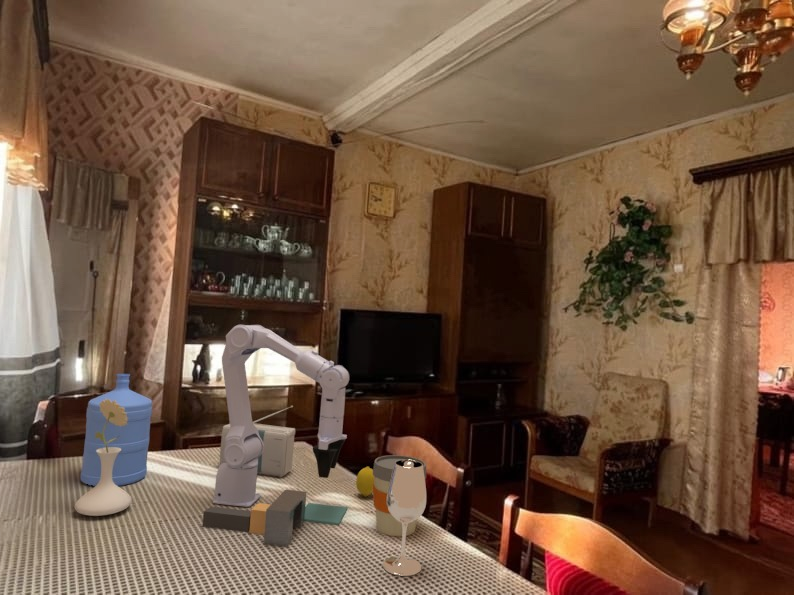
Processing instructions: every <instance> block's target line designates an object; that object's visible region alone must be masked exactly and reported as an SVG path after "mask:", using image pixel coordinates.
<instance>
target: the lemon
mask: <svg viewBox="0 0 794 595" xmlns="http://www.w3.org/2000/svg"><path fill="white" fill-rule="evenodd" d="M355 483H356V484H355V485H356V489H357V491H358V492H359V493H360V494H361V495H363V497H365V498H366V497H368V496H369V495H371V494H373V484H374V475H373V468H370V466H366V467H363V468H362V469H361V470H360V471H359V472H358V473H357V476H356V482H355Z"/></svg>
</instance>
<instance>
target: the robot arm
mask: <svg viewBox="0 0 794 595" xmlns="http://www.w3.org/2000/svg"><path fill="white" fill-rule="evenodd" d="M225 341H226V343H225V346H224V349H223V352H222V356H221V365H222V373H223V381H224V387H225V397H226V403H227V411H228V412H227V413H228V420H229V424H230V430H229V432H228V434H227V436H226V438H225V441H226V446H225V450H224V459H225V461H226V463H222V464H221V465H220V464H219V467H218V469H217V472H216V476H215V485H214V486H215V487H214V500H212V504H217V505H226V506H237V507H245V508H250V507H251V506H252V505H253V504H255V503H256V502H257V501H258V500H259V498H261V497H262V495H261V494H260V493H256V492H257V491H256V490H257V479H258V473H257V469H258V457H259V456H260V455H261V454H262V452H263V449H264V444H263V441H262V439H261V438H260V436H259V433H258V429H257V428H256V427H255V426H254V425H253V423H252V422H253V418H252V411H251V410H252V408H251V401H250V394H249V386H248V379H247V372H246V365H245V364H246V362H247V361H248V360H249V359H250V357H251V356H252V355H253V354H254V353H256V352H257V351H259V350H261V349H269V350H271V351H272V352H274V353H276V354H278V355H280V356H282V357H284V358H286V359H288V360H289V361H291V362H293V363H294V364H295V365H294V366H295V368H296V370H297V371H298V372H300V373H302V374H303V375H305V376H307V377H308V378H310V379H311V380H313V381H315V382H316V383H319V386H320V387H321V390H322V391H321V398H320V399H321V400H320V411H319V421H318V422H319V425H318V433H317V439H318V445H316V444H315V445H314V446H313V447H312V452H313V455H314V457H315V460H316V465H317V466H316V467H317V472H318V473H317V474H318V477H319V478H324V479H328V478H329V476H330V473H331V469H336V466H337V463H338V459H339V455H340V451H341V449H342V447H343V445H344V443H345V441H346V439H347V438H348V437H347V436H348V435H347V434H343V425H344V416H345V402H346V386H347V385H348V384H349V381H350V373H349V371H348V370H347V369H346V368H345V367H344V366H343V365H342V364H341V365H340V364H337V365H334V364H335V362H334V361H332V360H328V359H326V358H324V357H322V356H321V355H319V351H317V350H316V349H314V350H310V349H307V350H303V351H302V350H301V349H300V348H298V347H297V346H295V345H293V344H292V343H290V342H289V341H287V340H286V339H284V338H282V337H281V336H280V335H278V334H276V333H275V332H273V331H272V330H271V329H268V328H265V327H264V326H262V325H261V324H250V325H249V324H247V325H245V324H237V325H235V326H233V327H232V328H231V329H230V331H228V333H226V335H225Z"/></svg>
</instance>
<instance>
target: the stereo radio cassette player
mask: <svg viewBox="0 0 794 595" xmlns="http://www.w3.org/2000/svg"><path fill="white" fill-rule="evenodd" d="M293 407H294V406H293V405H290V407H287V408H284V409H281V410H278V411H276V412H274V413H271V414H269V415H266V416H264V417H261V418H258V419H257V420H254V421H252V423H253V425H254V426H255V427H256V428H257V429H258V433H259V436H260V438H261V439H262V441H263V444H264V449H263V452H262V454H261V455H260V456H259V457H258V469H257V474H260V475H261V474H262V475H267V476H274V477H279V478H282V477H284V476H285V475H286V474H288V473H289V472H290V471H291V470H292V468H293V459H294V457H293V456H294V449H295V448H294V446H295V435H296V428H295V427H286V426H279V425H270V424H262V423H257V422H261V421H262V420H265V419H267V418H270V417H272V416H274V415H277V414H280V413H281V412H284V411H285V410H288V409H289V408H293ZM229 430H230V423H228V424H225V425H223V426H222V431H221V439H220V440H221V441H220V452H219V453H220V454H219V466H220V465H221V464H222V463H226V461H225V459H224V450H225V446H226V441H225V438H226V436H227V434H228V432H229Z"/></svg>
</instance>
